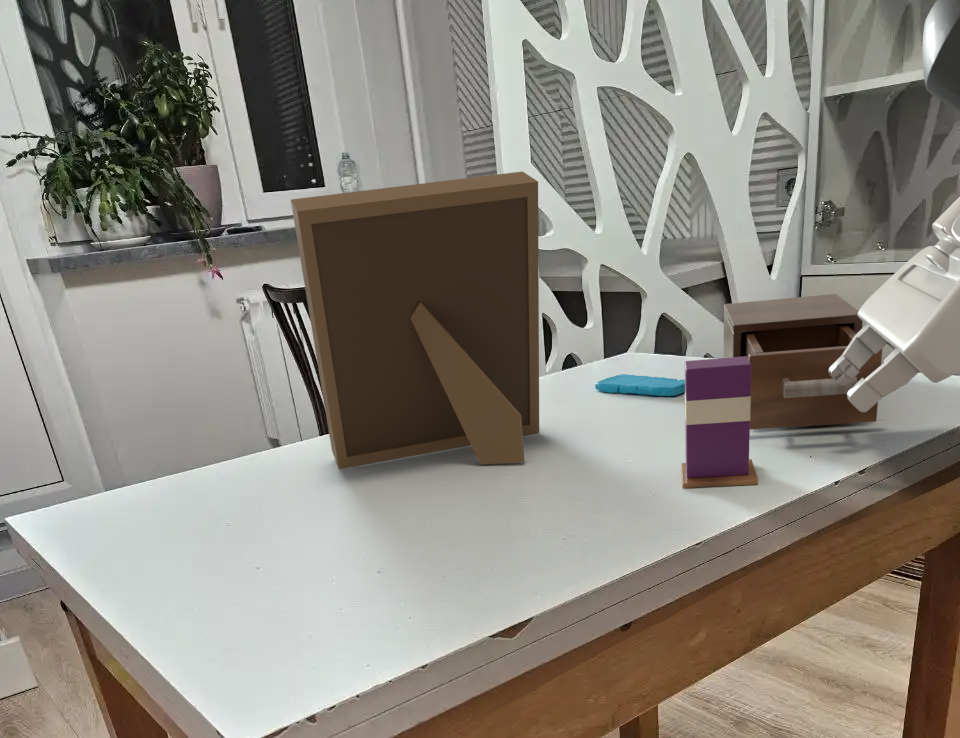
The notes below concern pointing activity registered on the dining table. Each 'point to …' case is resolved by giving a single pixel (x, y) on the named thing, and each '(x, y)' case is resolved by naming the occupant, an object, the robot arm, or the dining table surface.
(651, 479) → the dining table surface
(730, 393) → the snack carton
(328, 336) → the photo frame
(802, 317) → the cabinet
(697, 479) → the coaster
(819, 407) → the drawer
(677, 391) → the sponge
